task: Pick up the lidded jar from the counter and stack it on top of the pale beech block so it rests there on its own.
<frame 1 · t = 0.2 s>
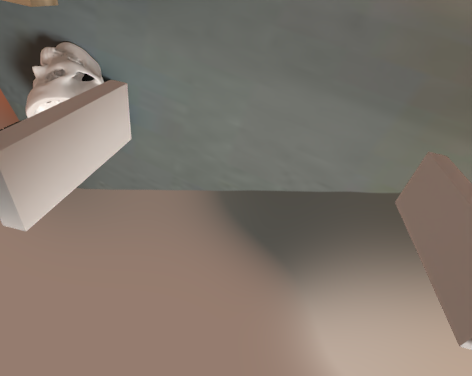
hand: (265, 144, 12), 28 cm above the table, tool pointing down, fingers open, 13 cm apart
skull bowl: (98, 92, 44), on the table
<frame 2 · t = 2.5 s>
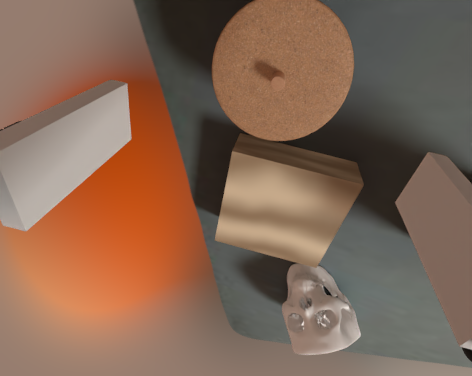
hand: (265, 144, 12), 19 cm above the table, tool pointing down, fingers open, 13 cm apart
beech block: (281, 191, 37), on the table
skull bowl: (316, 289, 47), on the table
lidded jar: (284, 57, 28), on the table
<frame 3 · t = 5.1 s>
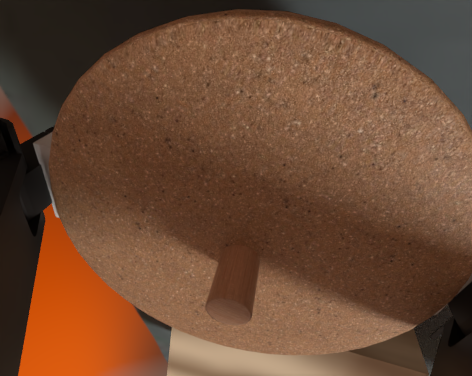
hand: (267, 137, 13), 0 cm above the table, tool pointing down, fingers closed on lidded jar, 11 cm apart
beech block: (272, 316, 23), on the table
lidded jar: (269, 131, 14), on the table, touching gripper
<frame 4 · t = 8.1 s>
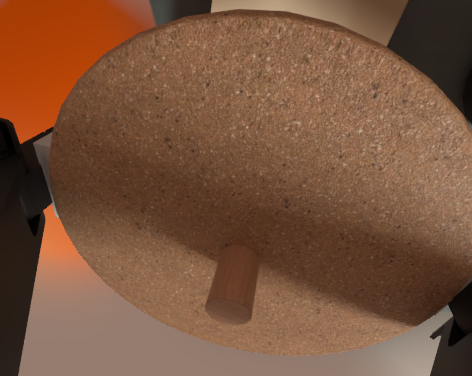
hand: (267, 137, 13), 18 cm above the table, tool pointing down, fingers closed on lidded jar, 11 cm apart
beech block: (286, 61, 28), on the table
lidded jar: (269, 131, 14), point 17 cm above the table, touching gripper
when the fingers open (7 cm above the table, at t = 11.1 s): lidded jar drops 2 cm, point 4 cm above the table.
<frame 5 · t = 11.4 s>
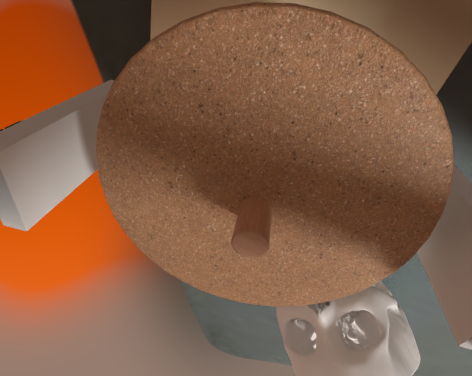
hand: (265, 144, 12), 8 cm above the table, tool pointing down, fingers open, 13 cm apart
beech block: (277, 90, 19), on the table
skull bowl: (334, 276, 28), on the table
lidded jar: (271, 117, 15), point 4 cm above the table
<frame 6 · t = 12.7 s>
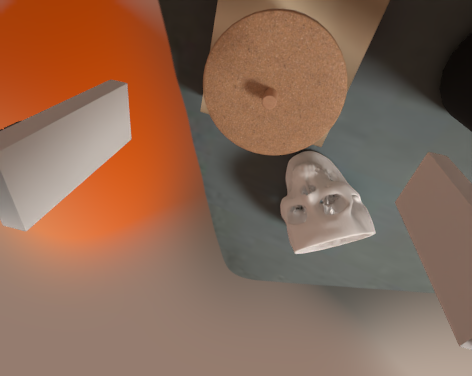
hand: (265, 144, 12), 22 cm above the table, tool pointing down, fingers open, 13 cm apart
beech block: (282, 54, 31), on the table
skull bowl: (320, 194, 40), on the table
lidded jar: (279, 66, 27), point 4 cm above the table
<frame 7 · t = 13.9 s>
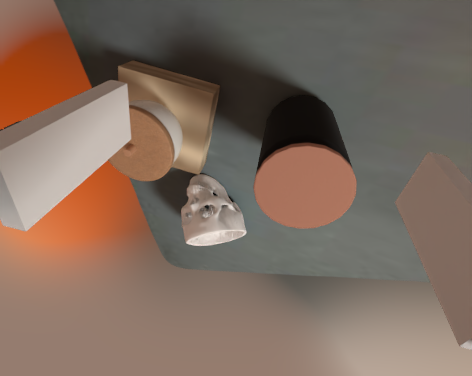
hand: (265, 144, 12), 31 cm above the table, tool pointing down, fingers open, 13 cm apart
beech block: (173, 114, 47), on the table, touching lidded jar
coffee jar: (299, 126, 44), on the table
skull bowl: (217, 203, 56), on the table
lidded jar: (160, 125, 43), point 4 cm above the table, touching beech block
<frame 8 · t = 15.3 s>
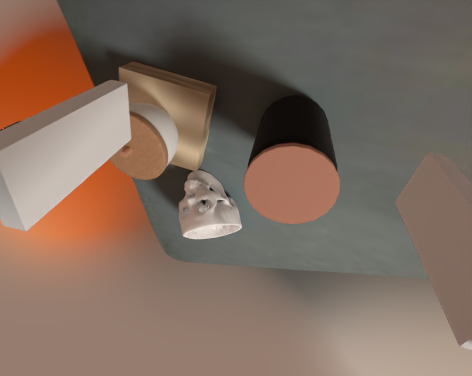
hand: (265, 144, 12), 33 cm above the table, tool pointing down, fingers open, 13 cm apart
beech block: (172, 113, 49), on the table
coffee jar: (293, 125, 46), on the table
skull bowl: (214, 198, 58), on the table
lidded jar: (159, 124, 45), point 5 cm above the table
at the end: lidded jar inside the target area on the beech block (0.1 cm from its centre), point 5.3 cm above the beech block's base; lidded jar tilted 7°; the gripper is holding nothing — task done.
